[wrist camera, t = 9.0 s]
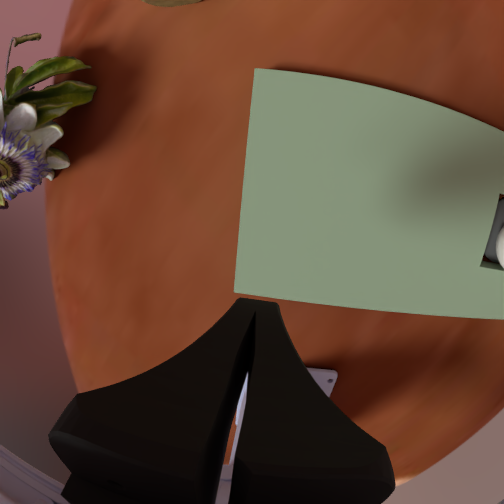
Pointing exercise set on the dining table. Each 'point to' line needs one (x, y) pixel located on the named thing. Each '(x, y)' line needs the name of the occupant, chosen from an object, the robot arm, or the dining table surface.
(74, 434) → the robot arm
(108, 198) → the dining table surface
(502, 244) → the ball
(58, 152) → the passion flower
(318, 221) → the putting mat
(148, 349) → the dining table surface
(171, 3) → the gavel
